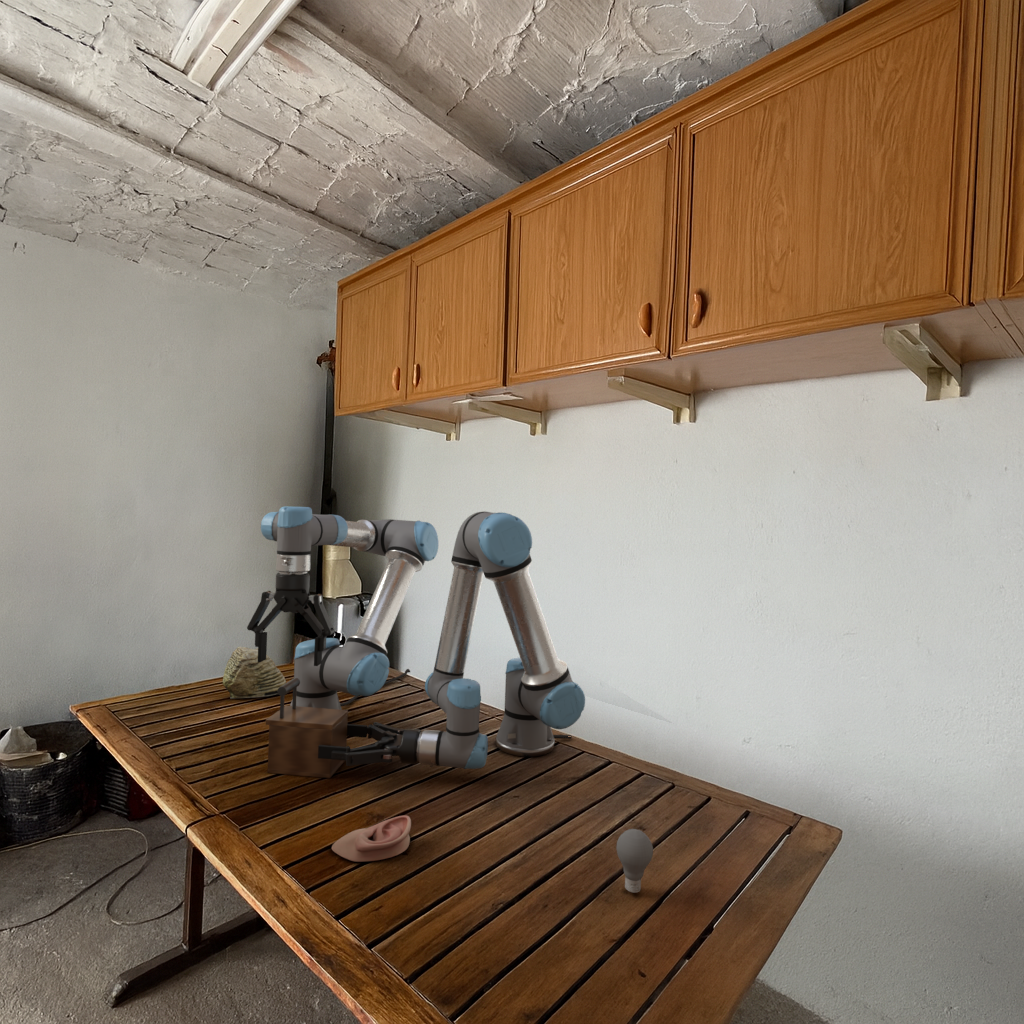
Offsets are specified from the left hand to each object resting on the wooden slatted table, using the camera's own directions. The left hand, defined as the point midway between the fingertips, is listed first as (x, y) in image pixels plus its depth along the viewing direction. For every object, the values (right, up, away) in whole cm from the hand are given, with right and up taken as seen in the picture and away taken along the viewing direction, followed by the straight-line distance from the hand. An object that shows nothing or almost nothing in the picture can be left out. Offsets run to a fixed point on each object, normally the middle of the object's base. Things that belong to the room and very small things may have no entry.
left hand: (289, 662), depth 148 cm
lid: (+4, -13, 0) cm, 14 cm away
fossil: (-28, -22, +50) cm, 61 cm away
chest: (+4, -24, 0) cm, 25 cm away
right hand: (+10, -18, -1) cm, 20 cm away
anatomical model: (+26, -26, -33) cm, 49 cm away
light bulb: (+72, -28, -43) cm, 88 cm away
